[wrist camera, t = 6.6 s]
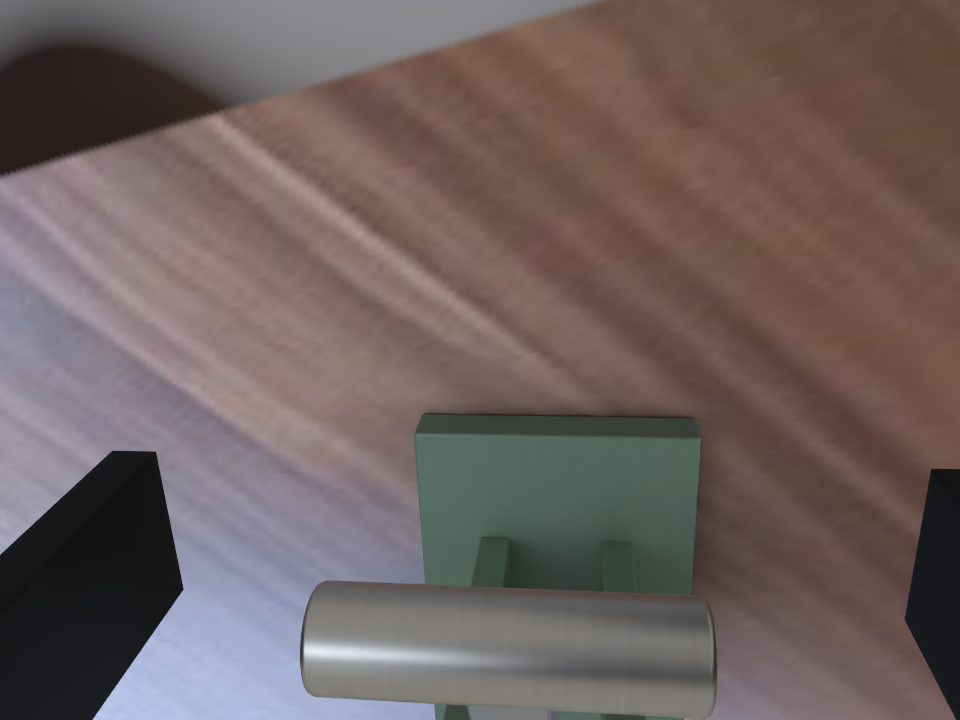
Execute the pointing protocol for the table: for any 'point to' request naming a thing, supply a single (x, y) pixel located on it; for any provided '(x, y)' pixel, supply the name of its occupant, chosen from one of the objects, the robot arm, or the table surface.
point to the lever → (511, 649)
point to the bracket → (558, 507)
